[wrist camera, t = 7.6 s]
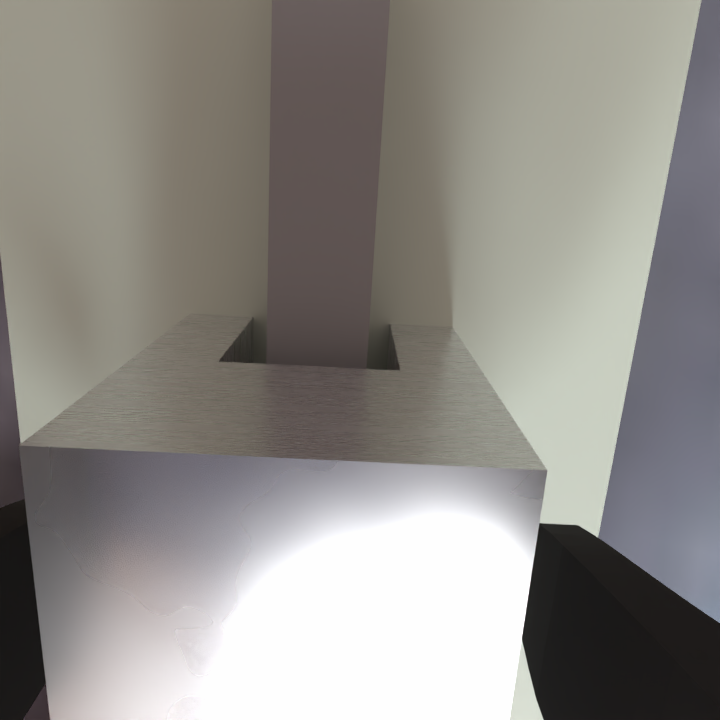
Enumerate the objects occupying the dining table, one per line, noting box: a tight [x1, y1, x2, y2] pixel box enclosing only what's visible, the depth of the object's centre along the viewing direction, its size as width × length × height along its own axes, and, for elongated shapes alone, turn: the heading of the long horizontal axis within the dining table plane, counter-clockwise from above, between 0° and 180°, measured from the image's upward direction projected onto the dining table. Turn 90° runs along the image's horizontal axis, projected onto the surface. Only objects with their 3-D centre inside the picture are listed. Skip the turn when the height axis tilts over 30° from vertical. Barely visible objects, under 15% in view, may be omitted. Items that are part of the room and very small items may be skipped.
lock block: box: [19, 314, 548, 720], centre depth 9 cm, size 6×5×6 cm
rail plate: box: [0, 0, 701, 720], centre depth 12 cm, size 20×12×3 cm, turn 177°
